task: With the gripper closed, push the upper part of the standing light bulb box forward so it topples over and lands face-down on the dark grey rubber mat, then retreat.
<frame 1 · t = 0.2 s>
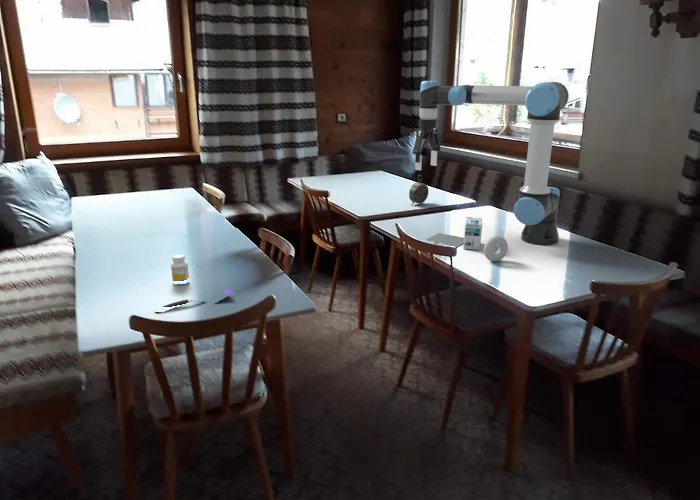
hand: (426, 167, 246), 28 cm above the table, tool pointing down, fingers open, 13 cm apart
donut: (494, 261, 213), on the table
light bulb box: (471, 246, 230), on the table, touching mat
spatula: (194, 306, 175), on the table
mat: (446, 241, 236), on the table
supplement bottle: (181, 283, 192), on the table
alarm clock: (418, 205, 297), on the table
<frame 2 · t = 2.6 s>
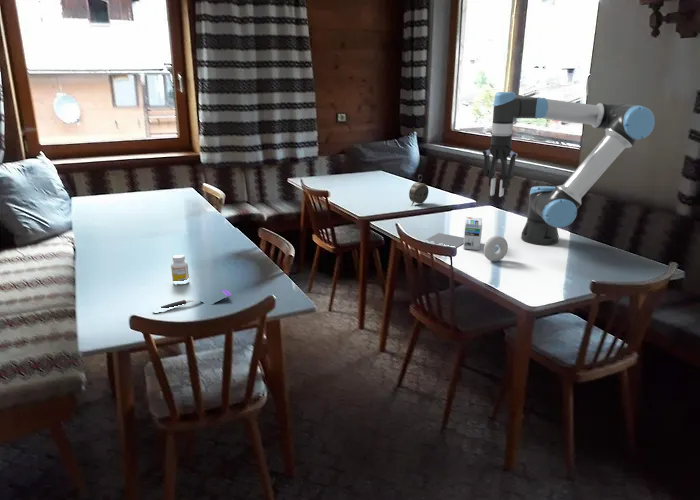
hand: (496, 195, 218), 23 cm above the table, tool pointing down, fingers open, 3 cm apart
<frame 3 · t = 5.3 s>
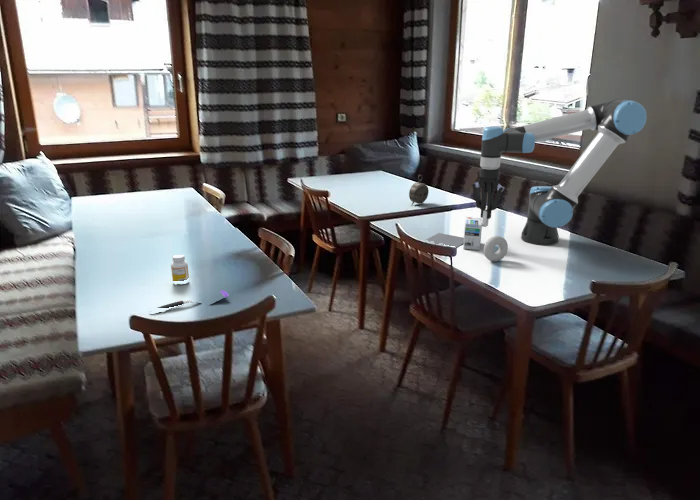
hand: (485, 225, 224), 10 cm above the table, tool pointing down, fingers closed
light bulb box: (471, 246, 230), on the table, touching gripper, mat
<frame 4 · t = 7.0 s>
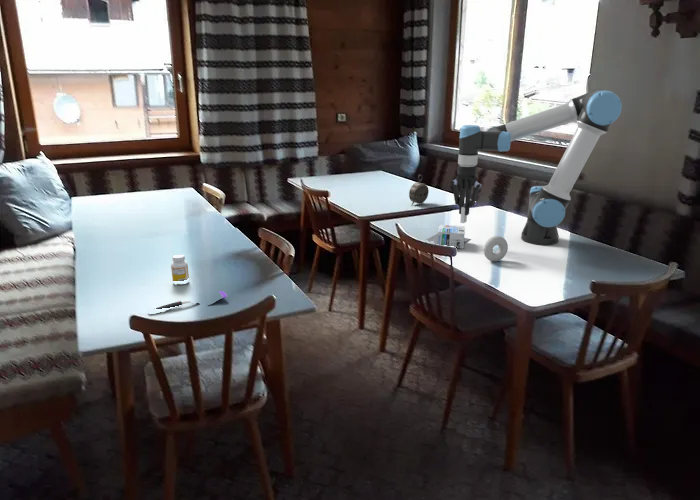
hand: (463, 222, 229), 10 cm above the table, tool pointing down, fingers closed
light bulb box: (464, 237, 230), point 4 cm above the table, touching mat
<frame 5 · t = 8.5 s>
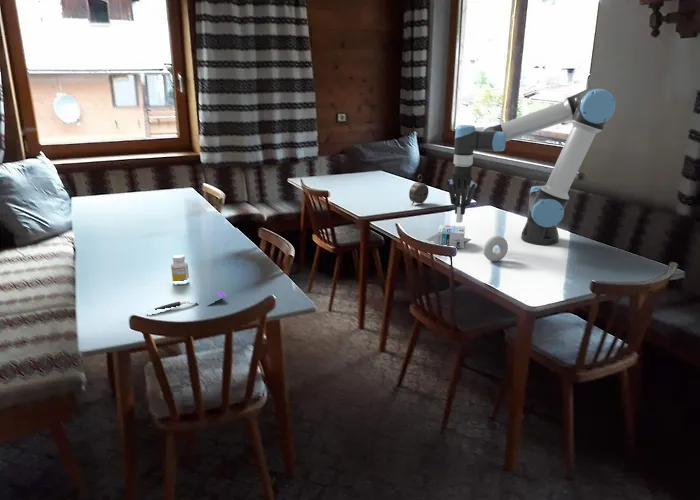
hand: (459, 221, 230), 9 cm above the table, tool pointing down, fingers closed
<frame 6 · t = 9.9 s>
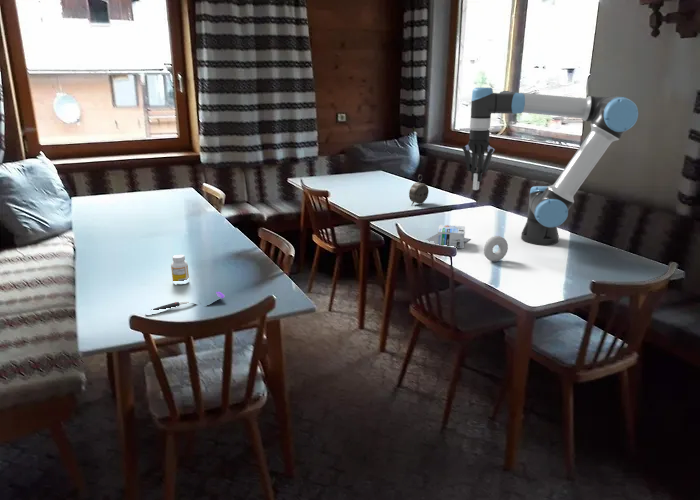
hand: (475, 189, 222), 24 cm above the table, tool pointing down, fingers closed
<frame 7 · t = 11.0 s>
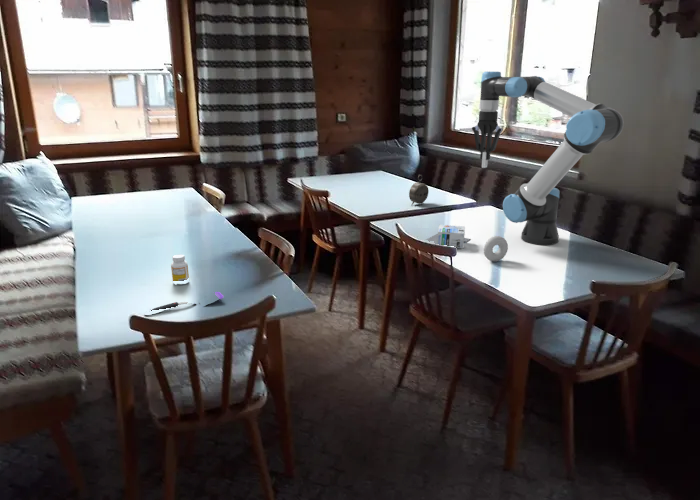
hand: (484, 167, 238), 29 cm above the table, tool pointing down, fingers closed
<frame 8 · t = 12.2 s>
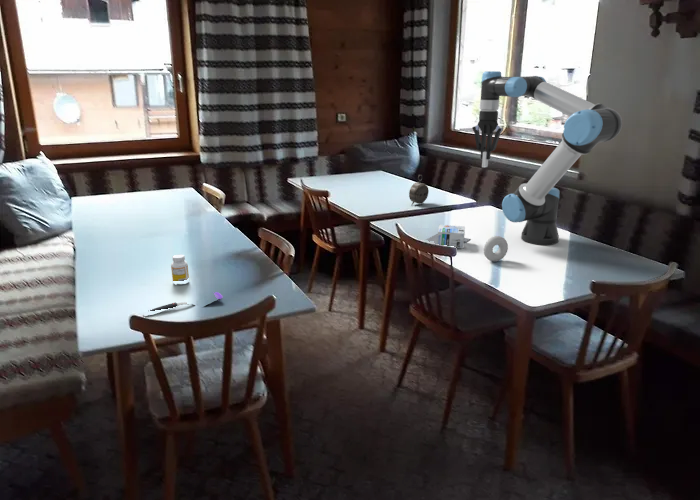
hand: (484, 166, 239), 29 cm above the table, tool pointing down, fingers closed
at the end: light bulb box tilted 89°; light bulb box inside the target area (9.4 cm from its centre), point 3.5 cm above the table; the gripper is holding nothing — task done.
